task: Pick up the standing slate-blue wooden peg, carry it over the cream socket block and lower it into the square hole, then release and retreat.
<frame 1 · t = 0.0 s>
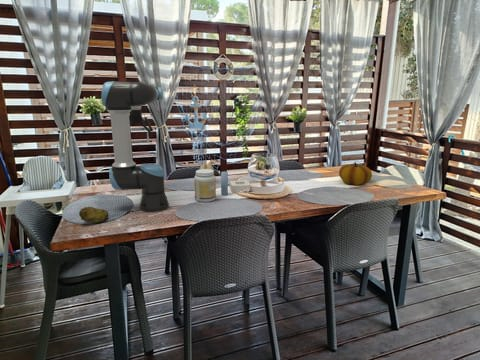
hand: (137, 142, 213), 28 cm above the table, fingers open, 13 cm apart
potato: (95, 222, 156), on the table
socket block: (240, 189, 209), on the table
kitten: (206, 183, 223), on the table
peg: (224, 194, 198), on the table
decorative pumpkin: (354, 183, 226), on the table
supplement tub: (205, 199, 190), on the table
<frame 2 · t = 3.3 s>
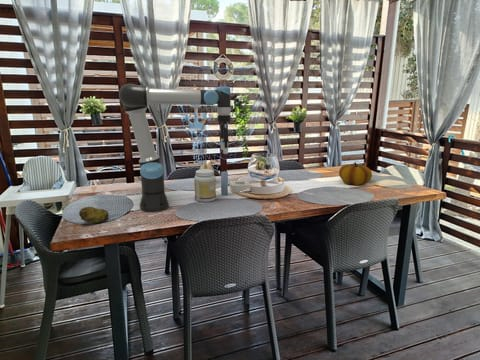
hand: (224, 151, 191), 27 cm above the table, fingers open, 13 cm apart
nothing on the table moved.
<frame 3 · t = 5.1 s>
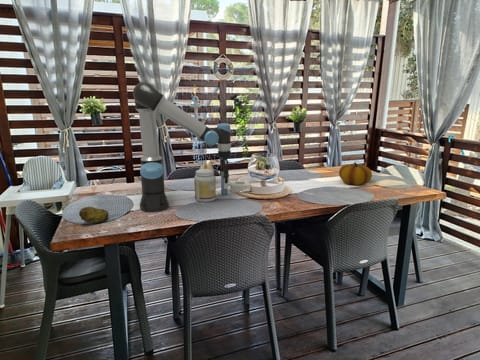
hand: (224, 185, 197), 6 cm above the table, fingers open, 13 cm apart
nothing on the table moved.
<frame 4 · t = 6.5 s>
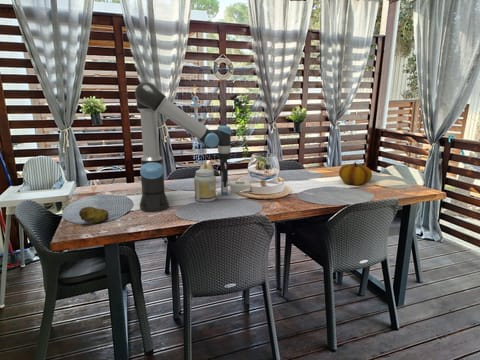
hand: (224, 190, 198), 3 cm above the table, fingers closed on peg, 4 cm apart
peg: (224, 194, 198), on the table, touching gripper
everything else where it was.
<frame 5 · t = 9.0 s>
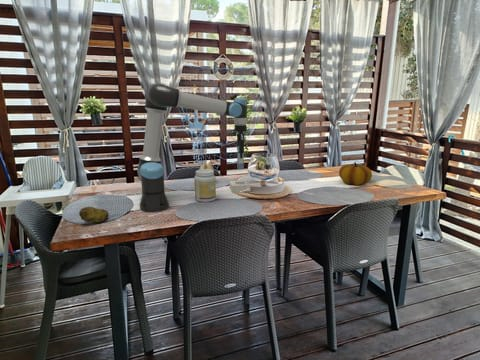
hand: (240, 162, 204), 18 cm above the table, fingers closed on peg, 4 cm apart
peg: (240, 168, 205), point 14 cm above the table, touching gripper
everything else where it was.
when the fingers open (5 cm above the table, at t = 11.4 s): peg stays where it is, resting in socket block.
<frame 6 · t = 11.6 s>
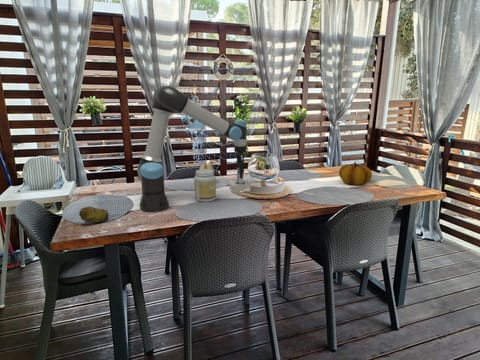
hand: (240, 181, 207), 5 cm above the table, fingers open, 6 cm apart
peg: (240, 189, 209), resting in socket block
everything else where it was.
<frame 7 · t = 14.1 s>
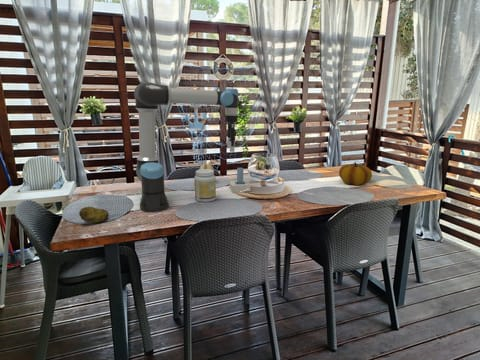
hand: (230, 149, 202), 26 cm above the table, fingers open, 13 cm apart
nothing on the table moved.
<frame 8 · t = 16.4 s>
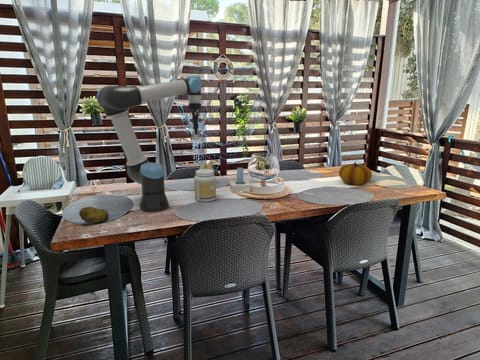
hand: (195, 138, 200), 33 cm above the table, fingers open, 13 cm apart
nothing on the table moved.
at the end: peg 0.0 cm off-centre on the socket block, point 0.0 cm above the socket block's base; peg tilted 0°; the gripper is holding nothing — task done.
